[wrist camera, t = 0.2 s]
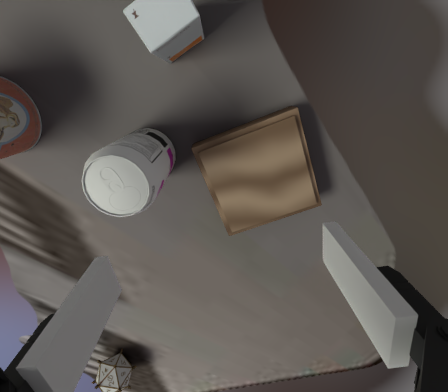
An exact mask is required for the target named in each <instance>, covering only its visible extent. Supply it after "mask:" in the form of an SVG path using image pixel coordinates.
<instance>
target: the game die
mask: <svg viewBox="0 0 448 392" xmlns="http://www.w3.org/2000/svg"><path fill="white" fill-rule="evenodd" d="M122 351H123V349H121V351H120V353H119V354H117V355H115V356H113V357H111V358H109V359H106V360H104V361H102V362H101V361H100V360H98V363H100V365H99V369H98V373H97V377H96V381H95V380H94V381H93V382H92V383H93V384H94V383H95V382H96V383H97V386H96V387H95V388H96V389H97V388H98V387H99V388H100V389H101V391H102V392H121V391H122V390H123V389H125V388H126V387H128V388H129V389H131V386H129V381H130V377H131V373H132V369H134V368H136V366H133V367H132V366H131V363H130V362H128V361H127V359H126V358H125V357H124V355H123V354H122Z"/></svg>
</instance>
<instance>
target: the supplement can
mask: <svg viewBox="0 0 448 392" xmlns="http://www.w3.org/2000/svg"><path fill="white" fill-rule="evenodd" d="M175 161H176V156H175V149H174V147H173V144H172V142H171V141H170V140H169V139H168V137H167V136H166V135H164V134H163V133H161V132H160V131H158V130H155V129H150V128H144V129H138V130H136V131H134V132H132V133H130V134H128V135H126V136H124V137H122V138H121V139H119V140H117V141H115V142H113V143H111V144H109V145H107V146H105V147H103V148H101V149H100V150H98V151H96V152H94V153H93V154H92V155H91V156H90V157H89V159H88V160H87V162H86V163H85V166H84V171H83V177H82V186H83V191H84V193H85V195H86V197H87V199H88V200H89V202H90V203H91V204H92V205H93V206H94V207H96V208H97V209H98V210H100V211H102V212H104V213H106V214H108V215H111V216H117V217H124V216H131V215H134V214H138V213H140V212H142V211H144V210H146V209H148V207H149V206H150V205H151V204H152V203H153V202H154V201H155V199H156V197H157V195H158V194H159V192H160V190H161V188H162V187H163V185H164V183H165V181H166V179H167V178H168V176H169V174H170V172H171V171H172V169H173V166H174V163H175Z"/></svg>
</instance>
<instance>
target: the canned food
mask: <svg viewBox="0 0 448 392" xmlns="http://www.w3.org/2000/svg"><path fill="white" fill-rule="evenodd" d="M41 132H42V121H41V117H40V113H39V111H38V109H37V106H36V105H35V103H34V101H33V100H32V99H31V97H30V96H29V95H28V94H27V93H26V92H25V91H24V90H23V89H22V88H21V87H20V86H18V85H17V84H16V83H14V82H12V81H10V80H8V79H6V78H4V77H1V76H0V159H2V158H5V157H8V156H11V155H14V154H17V153H23V152H26V151H28V150H30V149H31V148H33V147H34V146H35V145H36V144H37V142H38V141H39V139H40V136H41Z"/></svg>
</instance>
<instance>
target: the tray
mask: <svg viewBox="0 0 448 392" xmlns="http://www.w3.org/2000/svg"><path fill="white" fill-rule="evenodd" d="M191 150H192V152H193V154H194V156H195V159H196V161H197V163H198V166H199V168H200V170H201V173H202V175H203V177H204V179H205V182H206V184H207V186H208V189H209V191H210V193H211V196H212V198H213V200H214V202H215V205H216V207H217V209H218V212H219V214H220V216H221V219H222V221H223V223H224V225H225V228H226V230H227V232H228V235H229V236H231V235H234V234H237V233H240V232H243V231H246V230H249V229H252V228H255V227H258V226H261V225H264V224H267V223H270V222H273V221H276V220H279V219H282V218H285V217H288V216H291V215H294V214H297V213H300V212H303V211H306V210H309V209H312V208H315V207H318V206H321V205H322V204H321V200H320V196H319V192H318V188H317V184H316V180H315V176H314V172H313V168H312V164H311V160H310V155H309V151H308V147H307V143H306V139H305V135H304V131H303V127H302V123H301V119H300V115H299V111H298V107H294V106H289V107H287V108H284V109H282V110H279V111H276V112H274V113H271V114H269V115H266V116H264V117H261V118H258V119H256V120H253V121H251V122H248V123H246V124H243V125H240V126H238V127H235V128H233V129H230V130H228V131H225V132H223V133H220V134H217V135H215V136H212V137H210V138H207V139H205V140H202V141H199V142H197V143H194V144H193V146H192V148H191Z"/></svg>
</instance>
